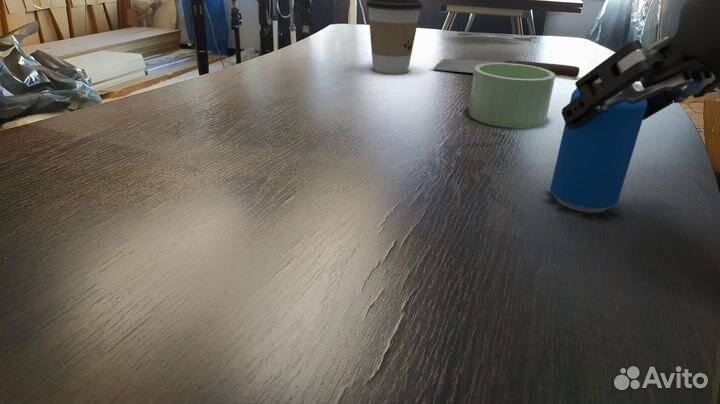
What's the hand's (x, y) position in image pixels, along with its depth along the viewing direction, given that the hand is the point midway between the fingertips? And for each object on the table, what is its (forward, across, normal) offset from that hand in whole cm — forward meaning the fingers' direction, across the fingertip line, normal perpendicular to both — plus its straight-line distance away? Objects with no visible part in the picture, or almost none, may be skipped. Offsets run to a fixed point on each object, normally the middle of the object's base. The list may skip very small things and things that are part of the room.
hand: (601, 116), depth 47 cm
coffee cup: (+50, -9, -37) cm, 62 cm away
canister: (+25, -12, -12) cm, 30 cm away
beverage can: (+6, 0, +7) cm, 9 cm away
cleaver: (+44, -32, -31) cm, 62 cm away
